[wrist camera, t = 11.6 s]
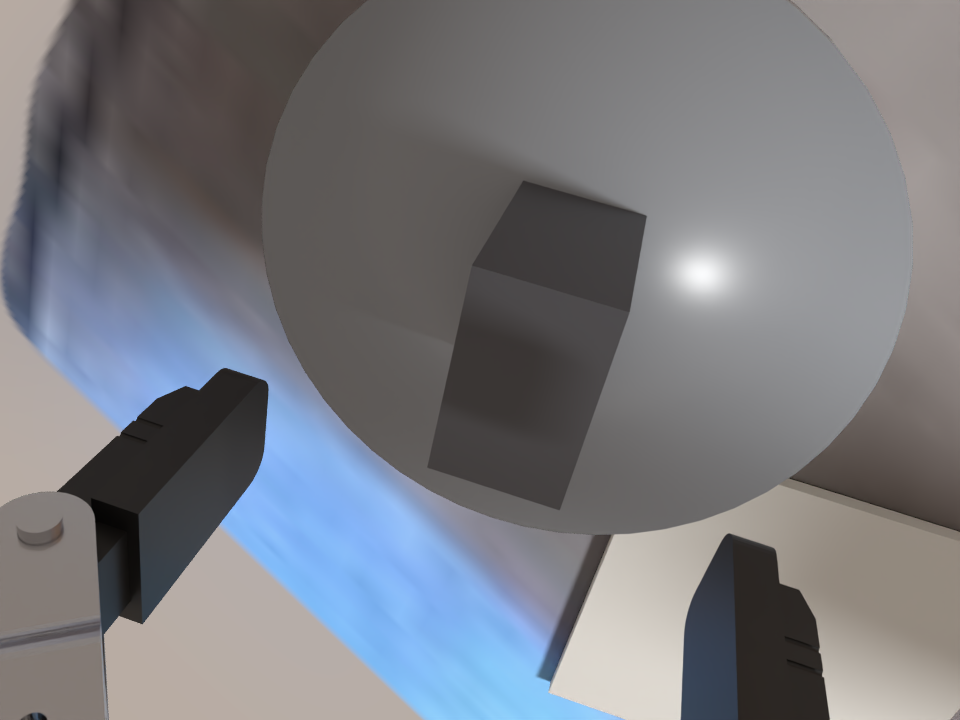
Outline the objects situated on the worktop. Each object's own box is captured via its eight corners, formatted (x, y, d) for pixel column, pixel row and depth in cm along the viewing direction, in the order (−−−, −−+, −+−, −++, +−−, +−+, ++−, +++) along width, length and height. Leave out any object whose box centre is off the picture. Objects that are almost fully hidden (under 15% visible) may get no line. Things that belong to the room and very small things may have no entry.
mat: (1070, 566, 30) (1076, 578, 30) (871, 793, 39) (873, 805, 38) (652, 435, 32) (651, 444, 31) (550, 682, 40) (548, 692, 40)
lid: (1050, 34, 16) (1211, 108, 11) (748, 572, 25) (759, 755, 20) (306, -155, 18) (141, -167, 13) (265, 416, 26) (157, 548, 21)
